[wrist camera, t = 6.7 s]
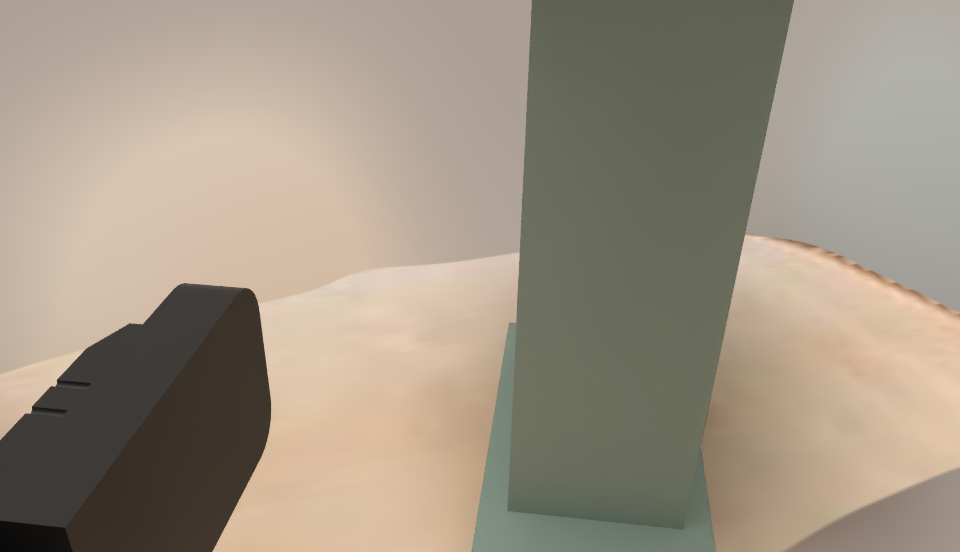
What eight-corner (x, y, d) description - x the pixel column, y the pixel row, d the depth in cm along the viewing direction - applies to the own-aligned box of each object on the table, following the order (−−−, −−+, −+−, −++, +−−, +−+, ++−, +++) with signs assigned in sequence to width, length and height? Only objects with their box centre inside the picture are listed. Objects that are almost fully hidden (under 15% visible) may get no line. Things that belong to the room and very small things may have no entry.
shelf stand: (508, 334, 59) (534, -260, 40) (683, 349, 58) (791, -255, 39) (470, 567, 42) (484, -270, 23) (716, 595, 41) (935, -263, 22)
